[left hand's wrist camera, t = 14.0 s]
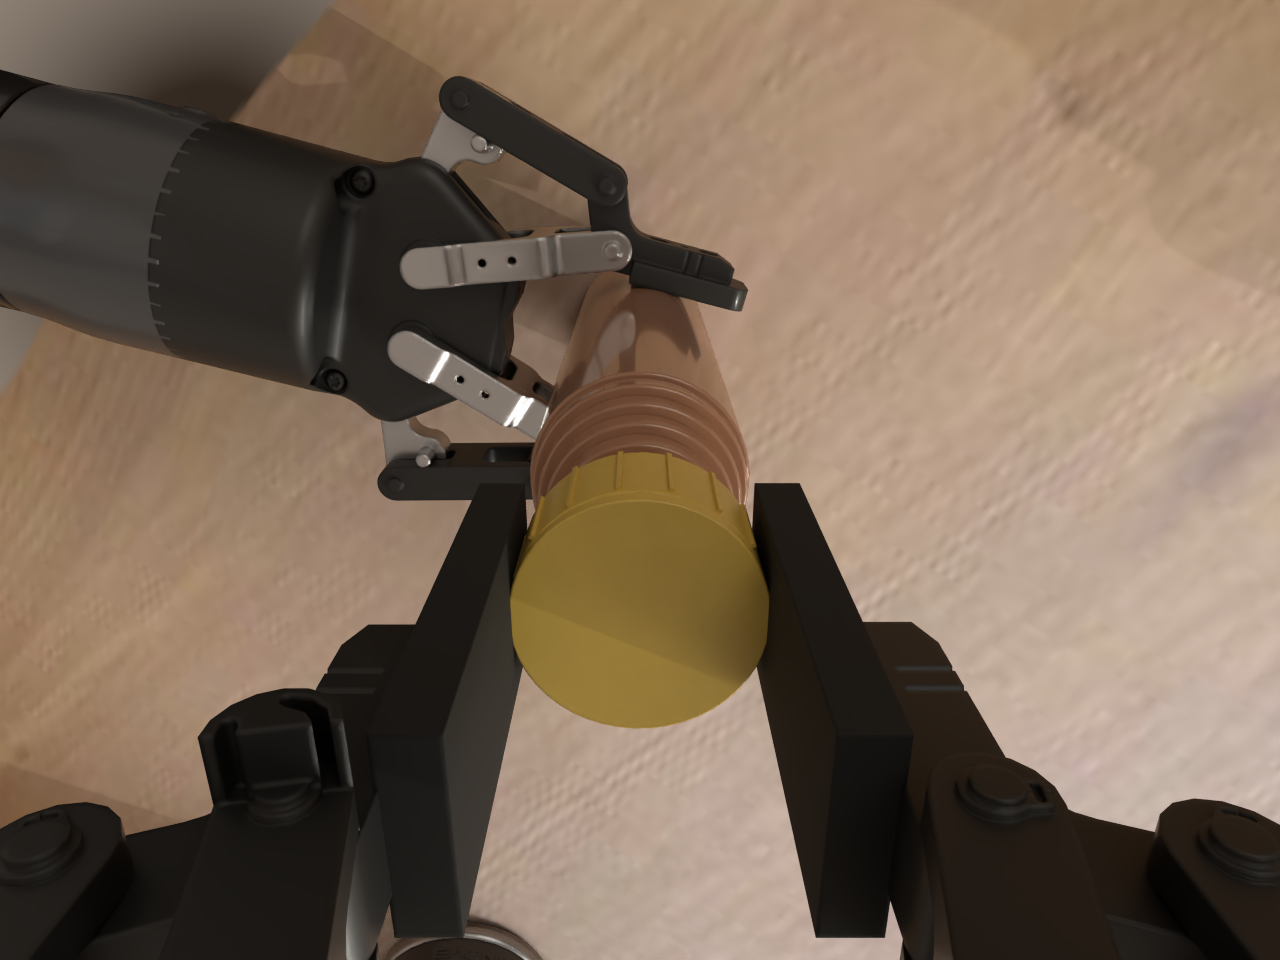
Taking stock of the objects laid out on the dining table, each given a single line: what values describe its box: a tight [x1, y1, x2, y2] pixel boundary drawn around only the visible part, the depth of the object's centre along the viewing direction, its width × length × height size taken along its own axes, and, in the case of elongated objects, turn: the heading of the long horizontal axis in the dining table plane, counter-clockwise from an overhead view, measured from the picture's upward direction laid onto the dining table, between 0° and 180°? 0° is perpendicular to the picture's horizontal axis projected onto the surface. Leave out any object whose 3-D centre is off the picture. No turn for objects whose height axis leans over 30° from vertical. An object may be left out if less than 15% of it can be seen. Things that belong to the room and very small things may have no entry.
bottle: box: [530, 271, 749, 511], centre depth 24 cm, size 5×5×23 cm
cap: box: [510, 451, 769, 728], centre depth 14 cm, size 4×4×2 cm
